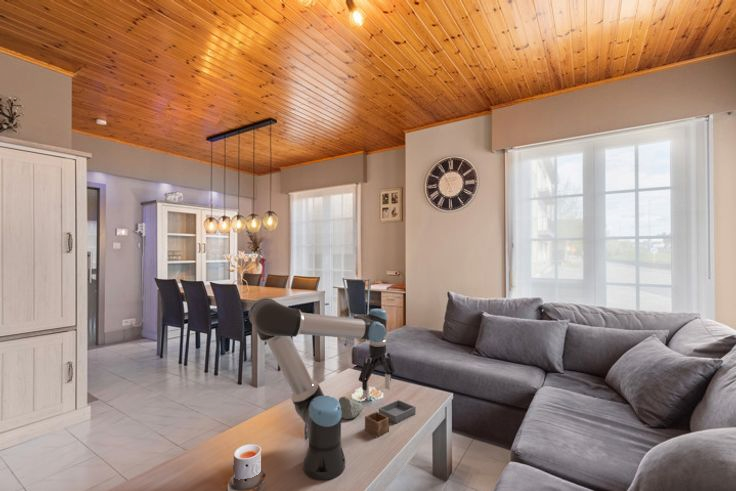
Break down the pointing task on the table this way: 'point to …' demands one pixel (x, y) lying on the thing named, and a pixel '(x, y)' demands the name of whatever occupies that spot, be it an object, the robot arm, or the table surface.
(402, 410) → the tray
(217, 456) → the table surface
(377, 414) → the walnut crate
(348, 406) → the decorative stone
